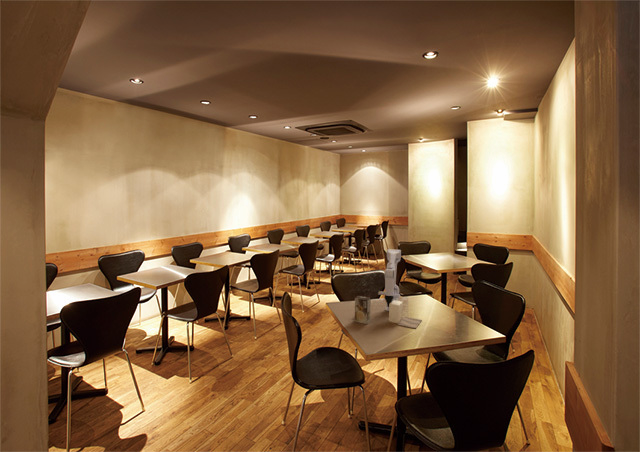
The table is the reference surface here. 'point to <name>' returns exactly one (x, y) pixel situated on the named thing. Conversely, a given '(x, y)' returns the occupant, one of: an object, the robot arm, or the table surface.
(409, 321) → the board
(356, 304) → the coffee box
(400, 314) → the carton
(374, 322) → the table surface
